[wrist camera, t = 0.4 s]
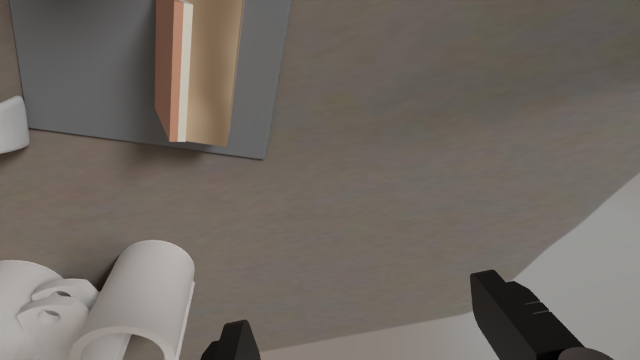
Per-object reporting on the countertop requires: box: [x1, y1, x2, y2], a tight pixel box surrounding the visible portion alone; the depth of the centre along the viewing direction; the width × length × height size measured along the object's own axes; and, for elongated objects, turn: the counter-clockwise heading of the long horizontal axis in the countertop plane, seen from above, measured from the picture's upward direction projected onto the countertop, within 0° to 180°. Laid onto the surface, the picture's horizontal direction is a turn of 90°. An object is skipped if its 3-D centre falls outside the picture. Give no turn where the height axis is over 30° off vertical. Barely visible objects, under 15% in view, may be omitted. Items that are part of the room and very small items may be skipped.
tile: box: [155, 0, 193, 142], centre depth 29 cm, size 4×10×8 cm, turn 168°
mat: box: [9, 0, 292, 160], centre depth 32 cm, size 22×18×1 cm
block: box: [185, 0, 244, 147], centre depth 31 cm, size 4×12×5 cm, turn 167°
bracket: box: [0, 240, 195, 360], centre depth 37 cm, size 25×10×12 cm, turn 96°
